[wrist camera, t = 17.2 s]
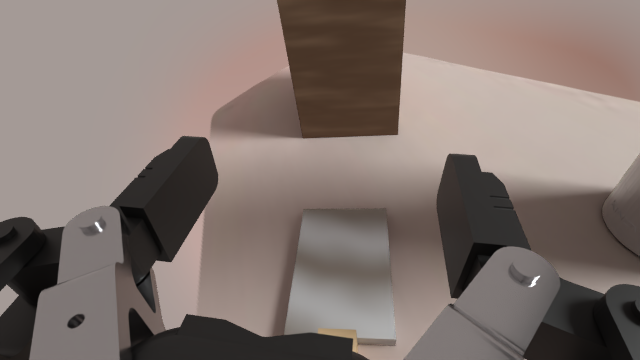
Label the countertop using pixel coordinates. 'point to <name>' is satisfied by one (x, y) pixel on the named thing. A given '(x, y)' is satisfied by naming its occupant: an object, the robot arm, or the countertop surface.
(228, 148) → the countertop surface
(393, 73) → the plinth
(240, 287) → the countertop surface
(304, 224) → the rectangular straight-edged part
